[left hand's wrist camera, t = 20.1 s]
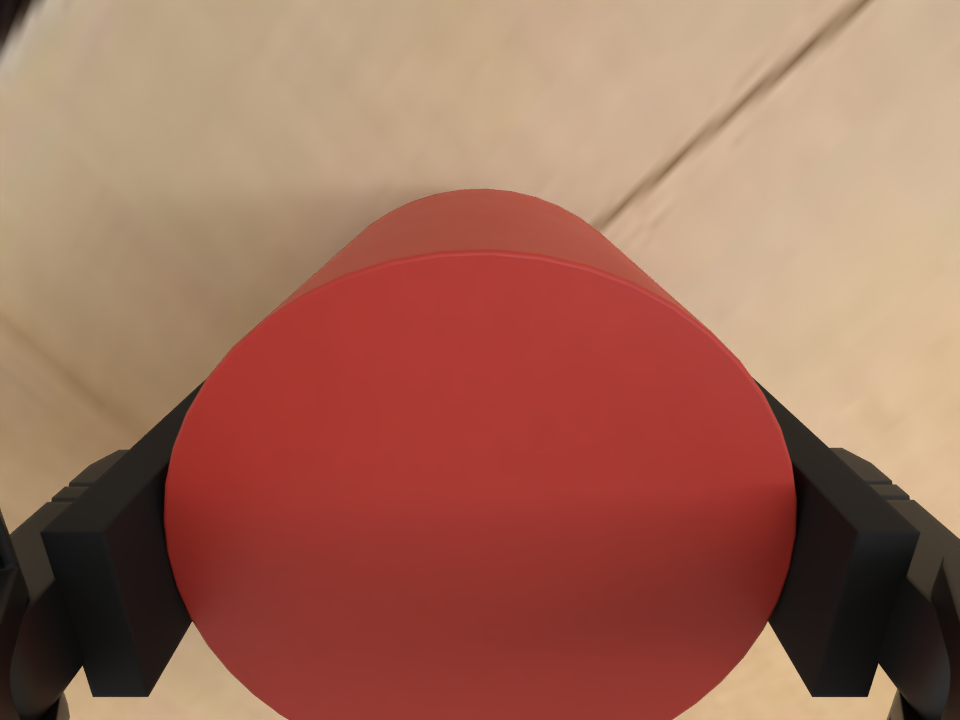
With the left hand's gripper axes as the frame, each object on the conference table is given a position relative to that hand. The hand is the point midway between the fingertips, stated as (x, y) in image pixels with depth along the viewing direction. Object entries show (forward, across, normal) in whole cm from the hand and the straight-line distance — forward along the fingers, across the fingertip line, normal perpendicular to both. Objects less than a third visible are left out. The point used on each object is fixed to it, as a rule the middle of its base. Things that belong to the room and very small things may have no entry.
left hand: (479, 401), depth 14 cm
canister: (+2, 0, 0) cm, 2 cm away
